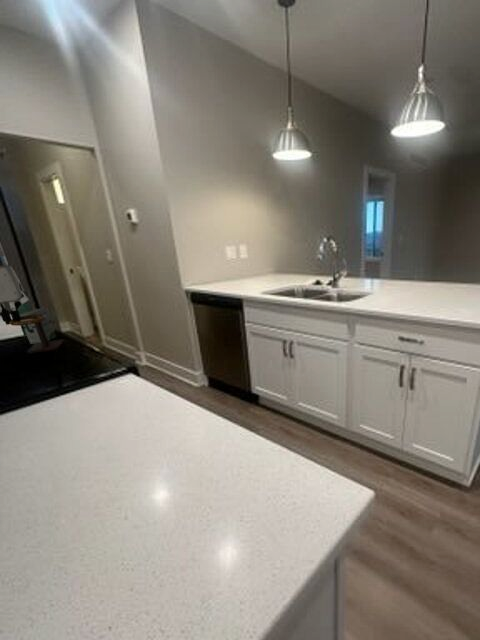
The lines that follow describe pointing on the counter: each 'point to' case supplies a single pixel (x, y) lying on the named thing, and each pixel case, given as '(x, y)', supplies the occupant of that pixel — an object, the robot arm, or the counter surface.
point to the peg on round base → (44, 341)
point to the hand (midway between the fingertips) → (13, 322)
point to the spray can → (24, 311)
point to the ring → (38, 316)
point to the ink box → (46, 324)
